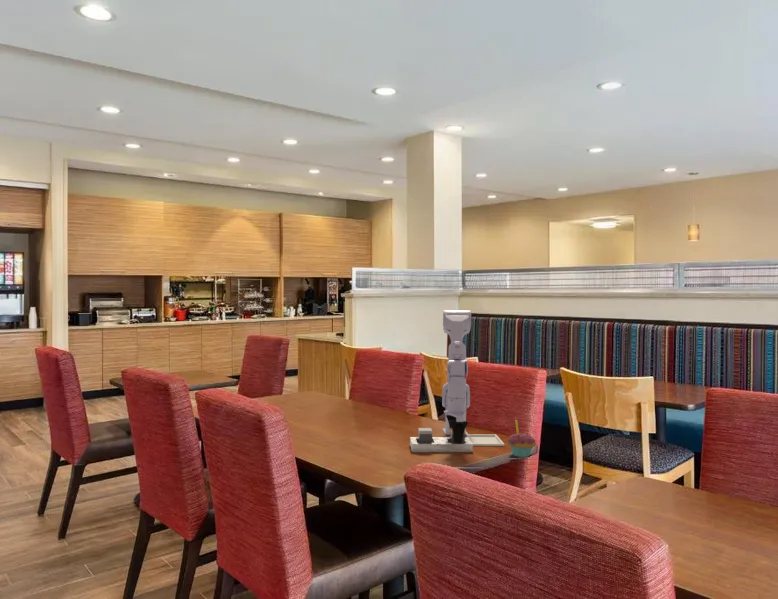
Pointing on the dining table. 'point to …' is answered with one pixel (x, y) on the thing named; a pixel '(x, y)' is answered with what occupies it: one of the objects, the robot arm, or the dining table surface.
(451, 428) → the plug
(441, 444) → the pdu strip
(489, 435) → the tray
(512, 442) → the cupcake
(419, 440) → the twin plug
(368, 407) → the dining table surface
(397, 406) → the dining table surface
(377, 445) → the dining table surface
